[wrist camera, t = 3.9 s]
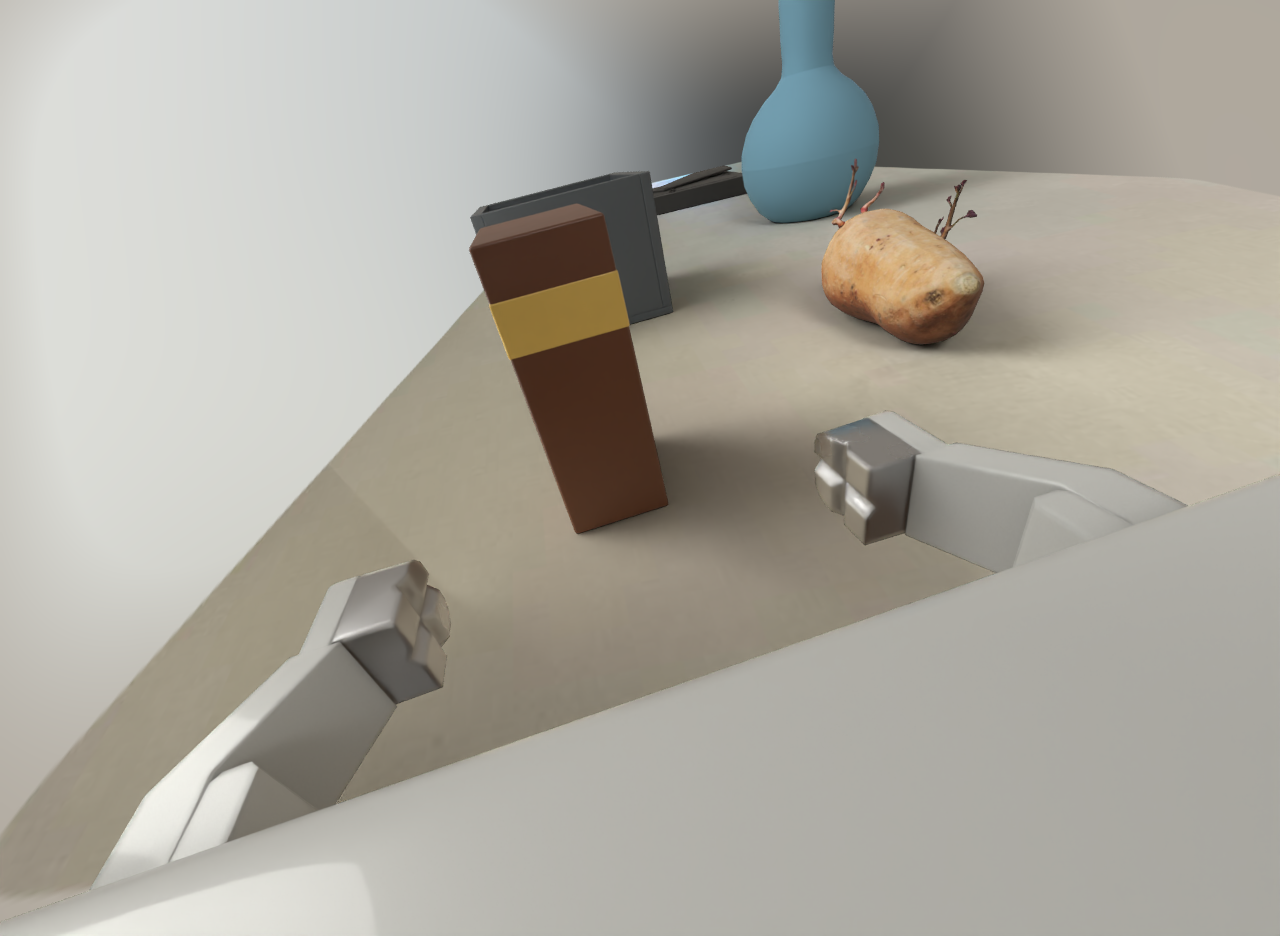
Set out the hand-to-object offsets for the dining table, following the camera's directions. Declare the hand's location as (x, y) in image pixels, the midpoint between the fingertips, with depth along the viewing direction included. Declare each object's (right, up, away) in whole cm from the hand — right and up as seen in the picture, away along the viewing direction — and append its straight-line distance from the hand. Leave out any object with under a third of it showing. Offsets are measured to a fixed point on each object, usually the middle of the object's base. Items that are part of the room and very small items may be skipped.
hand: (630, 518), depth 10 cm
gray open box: (-5, +16, +37) cm, 41 cm away
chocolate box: (-1, 0, +13) cm, 13 cm away
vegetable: (+18, +11, +21) cm, 30 cm away
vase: (+23, +35, +56) cm, 70 cm away
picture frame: (+8, +59, +97) cm, 114 cm away
